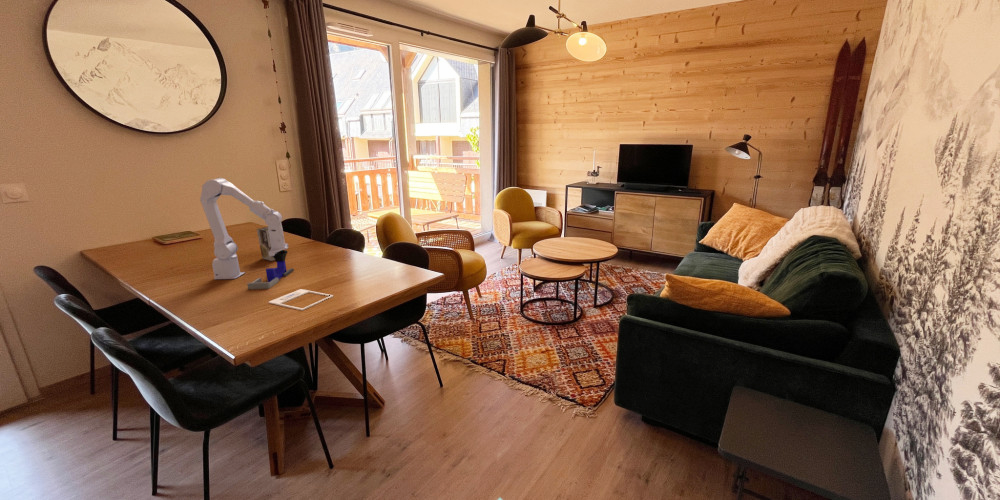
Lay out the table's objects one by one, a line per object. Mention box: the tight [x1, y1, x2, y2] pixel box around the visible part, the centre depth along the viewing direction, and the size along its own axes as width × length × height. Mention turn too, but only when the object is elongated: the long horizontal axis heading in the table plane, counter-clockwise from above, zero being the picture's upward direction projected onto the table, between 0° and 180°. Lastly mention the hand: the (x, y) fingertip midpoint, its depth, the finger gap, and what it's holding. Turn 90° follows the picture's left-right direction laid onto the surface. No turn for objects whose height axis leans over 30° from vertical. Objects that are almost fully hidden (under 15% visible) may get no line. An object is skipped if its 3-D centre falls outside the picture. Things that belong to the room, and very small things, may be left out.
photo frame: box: [268, 288, 334, 312], centre depth 155 cm, size 15×1×18 cm
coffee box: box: [256, 226, 276, 262], centre depth 208 cm, size 9×6×16 cm
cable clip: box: [265, 260, 288, 282], centre depth 180 cm, size 12×4×6 cm, turn 5°
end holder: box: [246, 277, 280, 290], centre depth 171 cm, size 8×9×2 cm
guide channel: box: [283, 268, 294, 277], centre depth 186 cm, size 8×8×1 cm
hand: (281, 266), depth 187 cm, fingers closed
